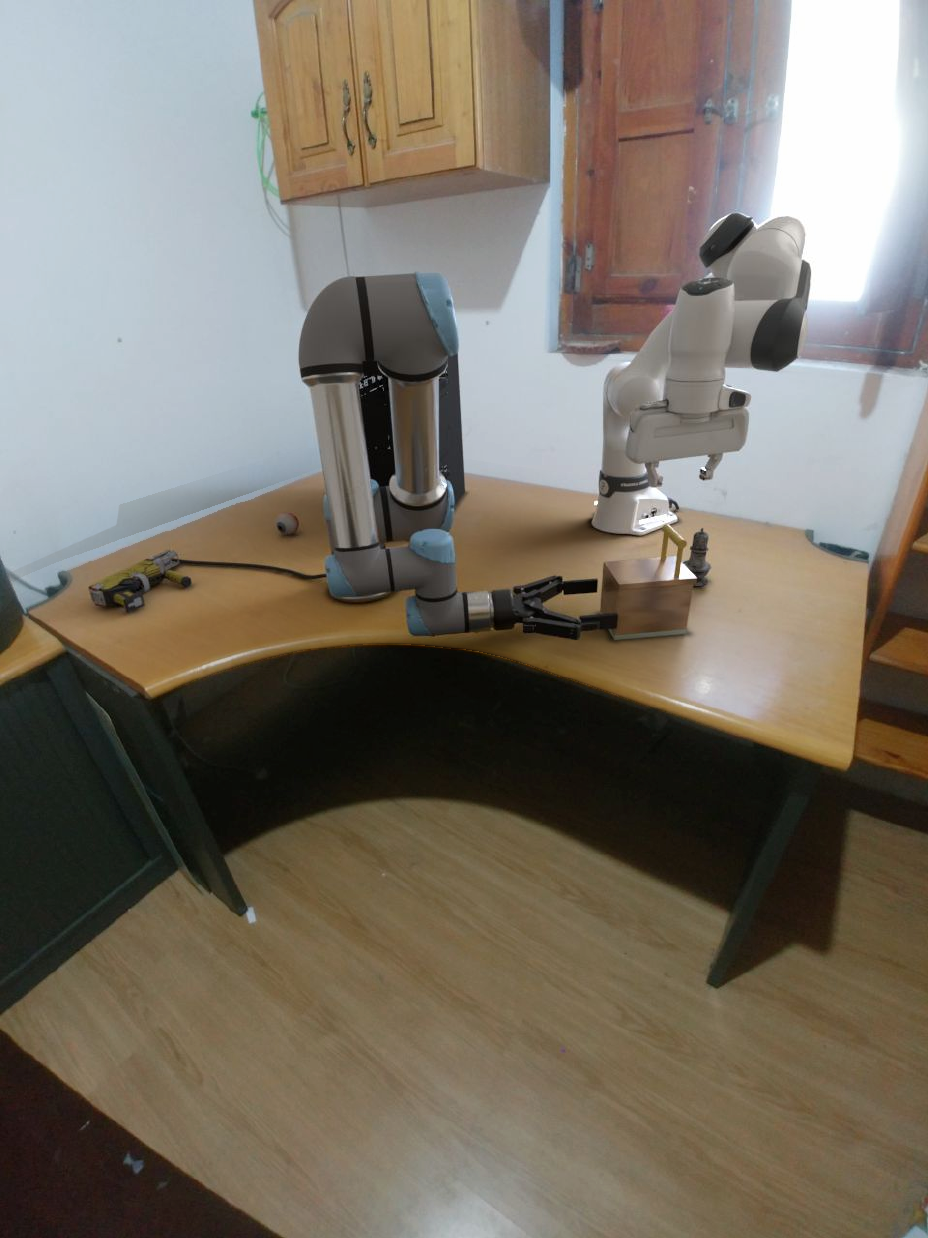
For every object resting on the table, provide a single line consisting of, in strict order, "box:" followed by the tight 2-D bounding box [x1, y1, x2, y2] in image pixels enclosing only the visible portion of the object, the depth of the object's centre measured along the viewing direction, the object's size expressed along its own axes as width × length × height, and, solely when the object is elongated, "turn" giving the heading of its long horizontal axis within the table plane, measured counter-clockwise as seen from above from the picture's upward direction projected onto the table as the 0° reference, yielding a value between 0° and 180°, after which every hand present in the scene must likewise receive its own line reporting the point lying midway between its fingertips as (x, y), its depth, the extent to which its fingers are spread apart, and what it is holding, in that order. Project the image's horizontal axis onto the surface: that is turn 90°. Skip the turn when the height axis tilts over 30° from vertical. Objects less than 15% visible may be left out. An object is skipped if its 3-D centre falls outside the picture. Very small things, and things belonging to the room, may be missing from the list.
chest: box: [599, 566, 694, 641], centre depth 113 cm, size 14×10×10 cm
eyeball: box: [275, 511, 300, 536], centre depth 163 cm, size 6×6×6 cm
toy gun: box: [87, 549, 193, 614], centre depth 138 cm, size 5×24×15 cm
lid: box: [602, 524, 697, 590], centre depth 108 cm, size 14×10×8 cm
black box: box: [359, 352, 466, 508], centre depth 164 cm, size 38×20×45 cm, turn 167°
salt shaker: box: [682, 527, 712, 587], centre depth 126 cm, size 6×6×12 cm
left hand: (606, 602), depth 111 cm, fingers open, 13 cm apart
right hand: (680, 482), depth 102 cm, fingers open, 8 cm apart
